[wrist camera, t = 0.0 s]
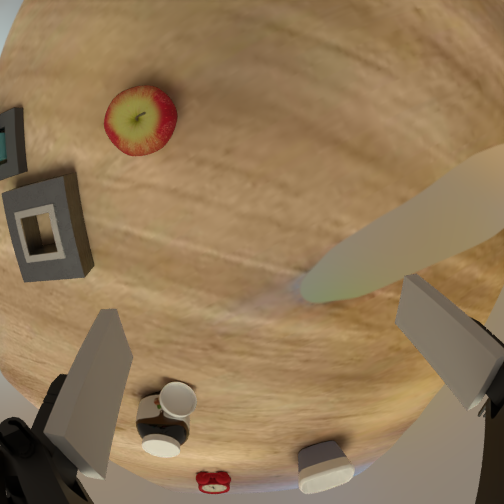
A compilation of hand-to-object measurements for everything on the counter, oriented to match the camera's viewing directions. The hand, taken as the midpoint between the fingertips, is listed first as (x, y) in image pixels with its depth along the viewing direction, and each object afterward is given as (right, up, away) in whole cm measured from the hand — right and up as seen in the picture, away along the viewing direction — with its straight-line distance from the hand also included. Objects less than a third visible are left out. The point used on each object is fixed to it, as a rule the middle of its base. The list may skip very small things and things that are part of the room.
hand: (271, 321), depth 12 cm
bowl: (+18, -53, +54) cm, 78 cm away
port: (-31, +7, +23) cm, 39 cm away
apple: (-14, +19, +21) cm, 32 cm away
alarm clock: (-12, -63, +54) cm, 84 cm away
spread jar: (-17, -25, +38) cm, 49 cm away
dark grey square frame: (-39, +19, +18) cm, 47 cm away
